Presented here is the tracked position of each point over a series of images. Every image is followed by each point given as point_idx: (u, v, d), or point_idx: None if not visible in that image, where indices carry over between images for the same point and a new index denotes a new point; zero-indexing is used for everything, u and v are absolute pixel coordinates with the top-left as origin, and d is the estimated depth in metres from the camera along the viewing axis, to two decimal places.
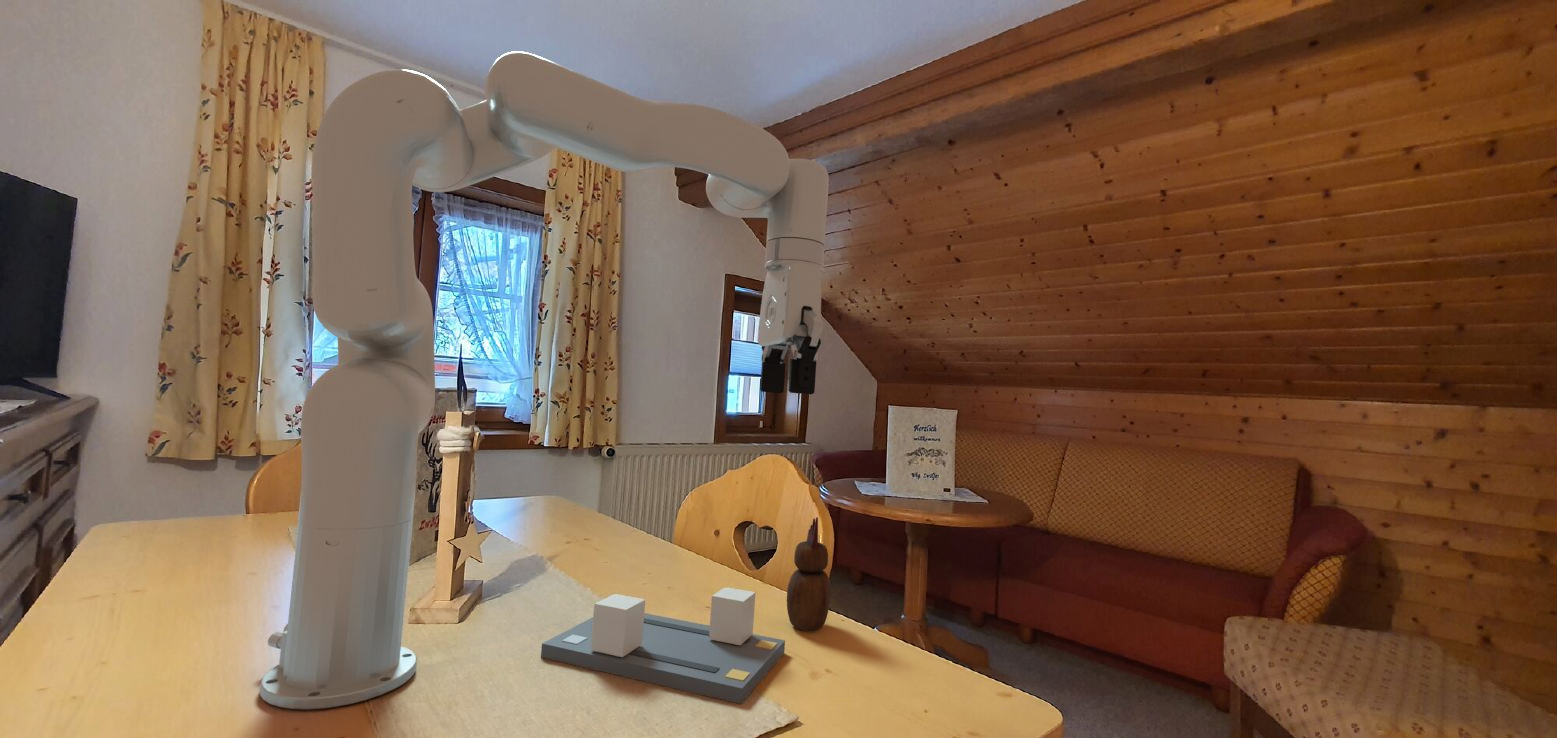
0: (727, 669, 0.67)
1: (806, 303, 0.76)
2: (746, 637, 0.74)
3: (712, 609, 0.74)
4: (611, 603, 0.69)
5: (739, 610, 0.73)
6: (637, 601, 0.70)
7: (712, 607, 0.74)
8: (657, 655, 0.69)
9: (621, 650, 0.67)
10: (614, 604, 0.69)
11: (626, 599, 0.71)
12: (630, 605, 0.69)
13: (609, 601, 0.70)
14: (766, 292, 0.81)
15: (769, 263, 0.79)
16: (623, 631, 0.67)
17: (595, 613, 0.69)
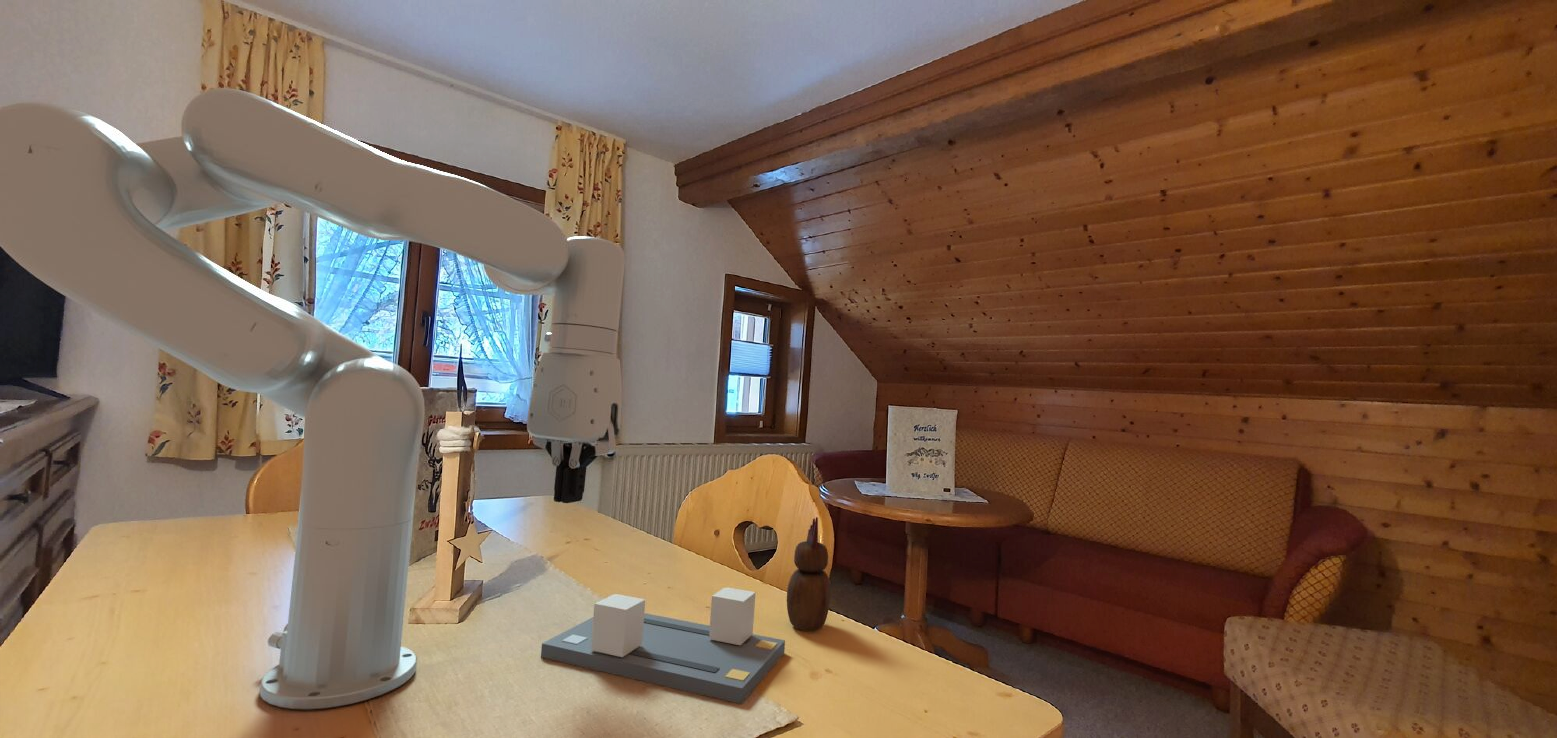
0: (727, 669, 0.67)
1: (614, 401, 0.72)
2: (746, 637, 0.74)
3: (712, 609, 0.74)
4: (611, 603, 0.69)
5: (739, 610, 0.73)
6: (637, 601, 0.70)
7: (712, 607, 0.74)
8: (657, 655, 0.69)
9: (621, 650, 0.67)
10: (614, 604, 0.69)
11: (626, 599, 0.71)
12: (630, 605, 0.69)
13: (609, 601, 0.70)
14: (550, 378, 0.72)
15: (568, 351, 0.70)
16: (623, 631, 0.67)
17: (595, 613, 0.69)
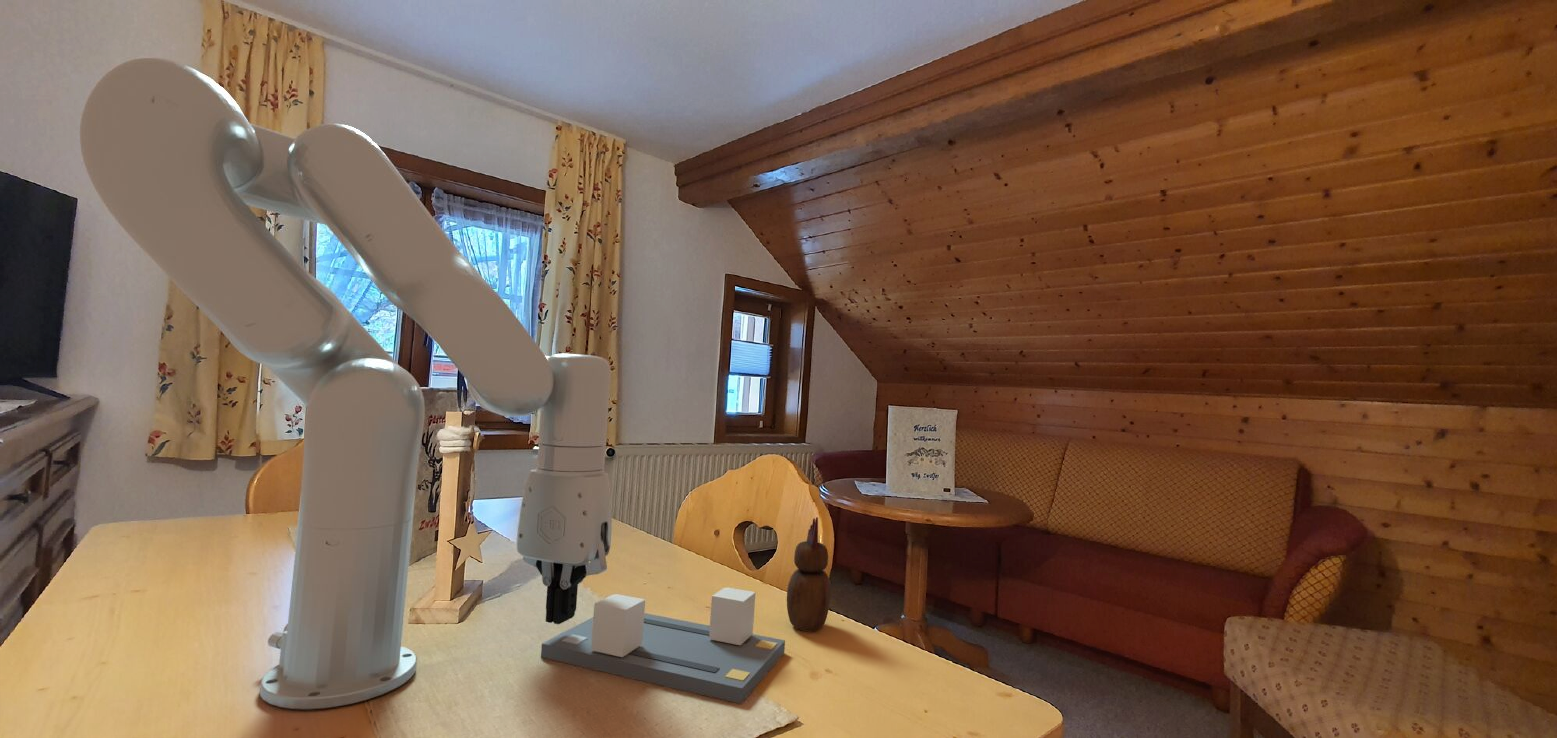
0: (727, 669, 0.67)
1: (603, 520, 0.71)
2: (746, 637, 0.74)
3: (712, 609, 0.74)
4: (611, 603, 0.69)
5: (739, 610, 0.73)
6: (637, 601, 0.70)
7: (712, 607, 0.74)
8: (657, 655, 0.69)
9: (621, 650, 0.67)
10: (614, 604, 0.69)
11: (626, 599, 0.71)
12: (630, 605, 0.69)
13: (609, 601, 0.70)
14: (538, 498, 0.71)
15: (556, 473, 0.70)
16: (623, 631, 0.67)
17: (595, 613, 0.69)
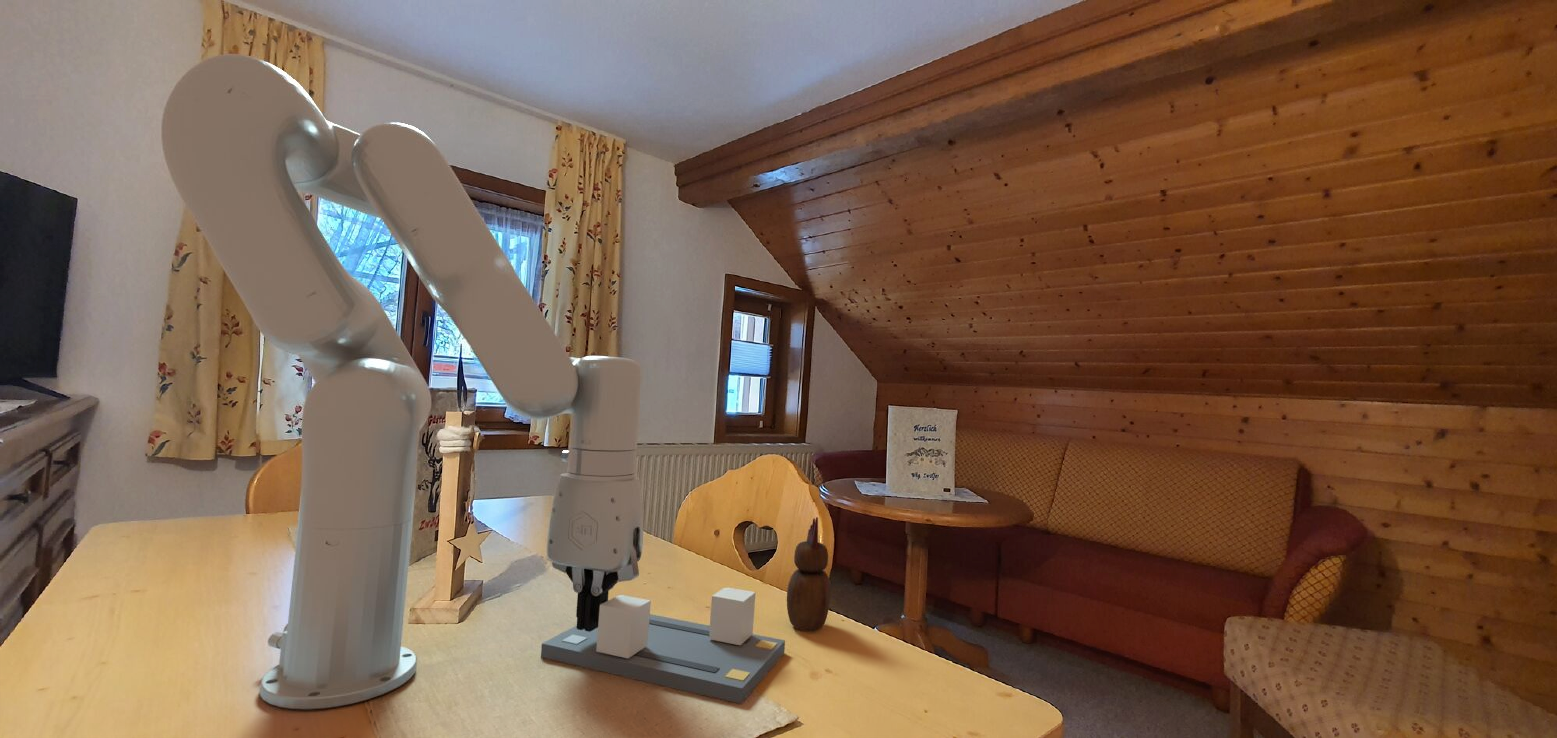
0: (727, 669, 0.67)
1: (636, 525, 0.70)
2: (746, 637, 0.74)
3: (712, 609, 0.74)
4: (617, 604, 0.69)
5: (739, 610, 0.73)
6: (642, 602, 0.70)
7: (712, 607, 0.74)
8: (657, 655, 0.69)
9: (627, 651, 0.67)
10: (620, 605, 0.69)
11: (632, 600, 0.71)
12: (635, 606, 0.69)
13: (614, 602, 0.70)
14: (569, 503, 0.70)
15: (588, 478, 0.68)
16: (629, 632, 0.67)
17: (600, 614, 0.69)
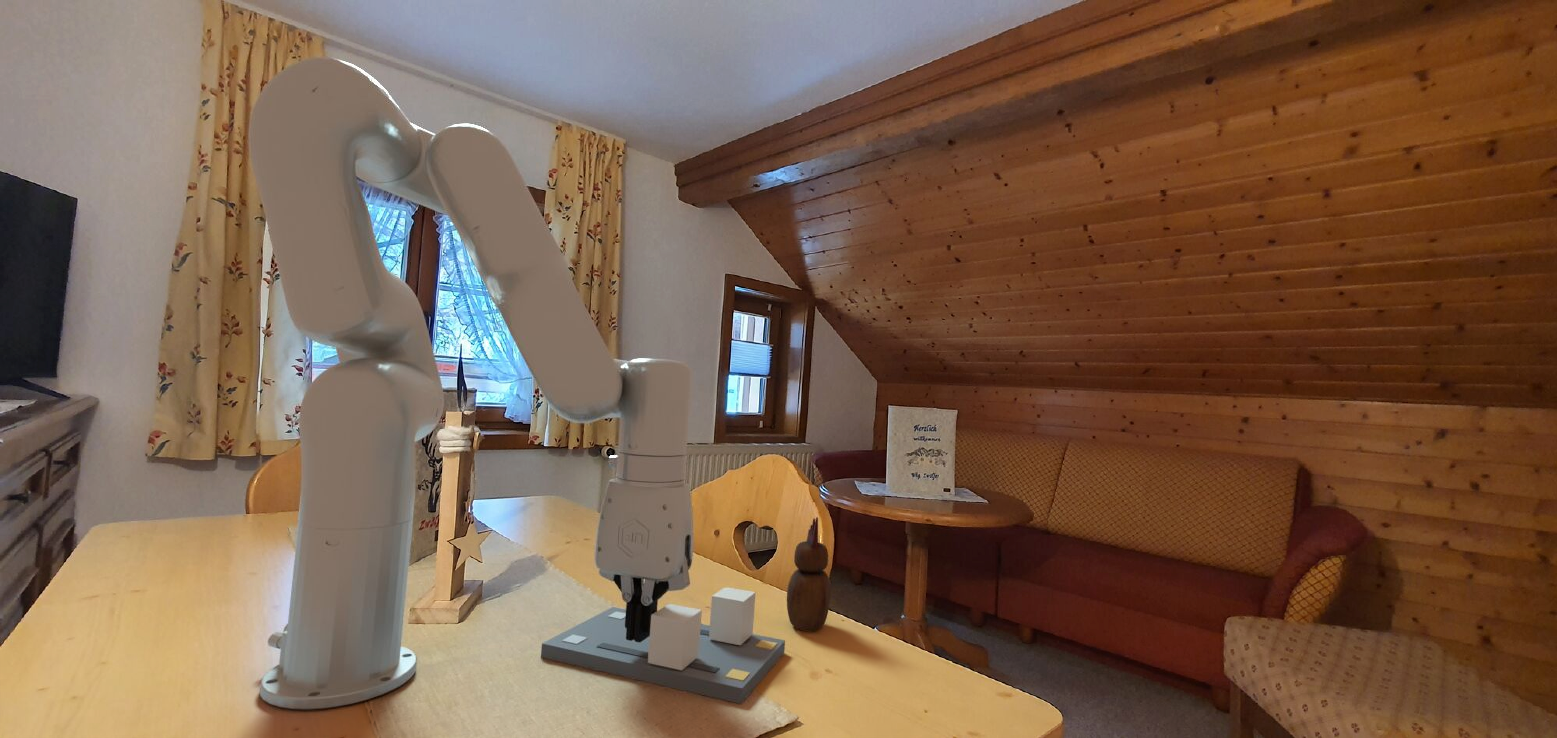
0: (727, 669, 0.67)
1: (687, 532, 0.68)
2: (746, 637, 0.74)
3: (712, 609, 0.74)
4: (669, 614, 0.67)
5: (739, 610, 0.73)
6: (694, 612, 0.68)
7: (712, 607, 0.74)
8: None
9: (680, 663, 0.65)
10: (672, 615, 0.67)
11: (682, 610, 0.69)
12: (688, 616, 0.67)
13: (666, 612, 0.68)
14: (618, 510, 0.68)
15: (639, 484, 0.66)
16: (682, 643, 0.65)
17: (652, 624, 0.66)
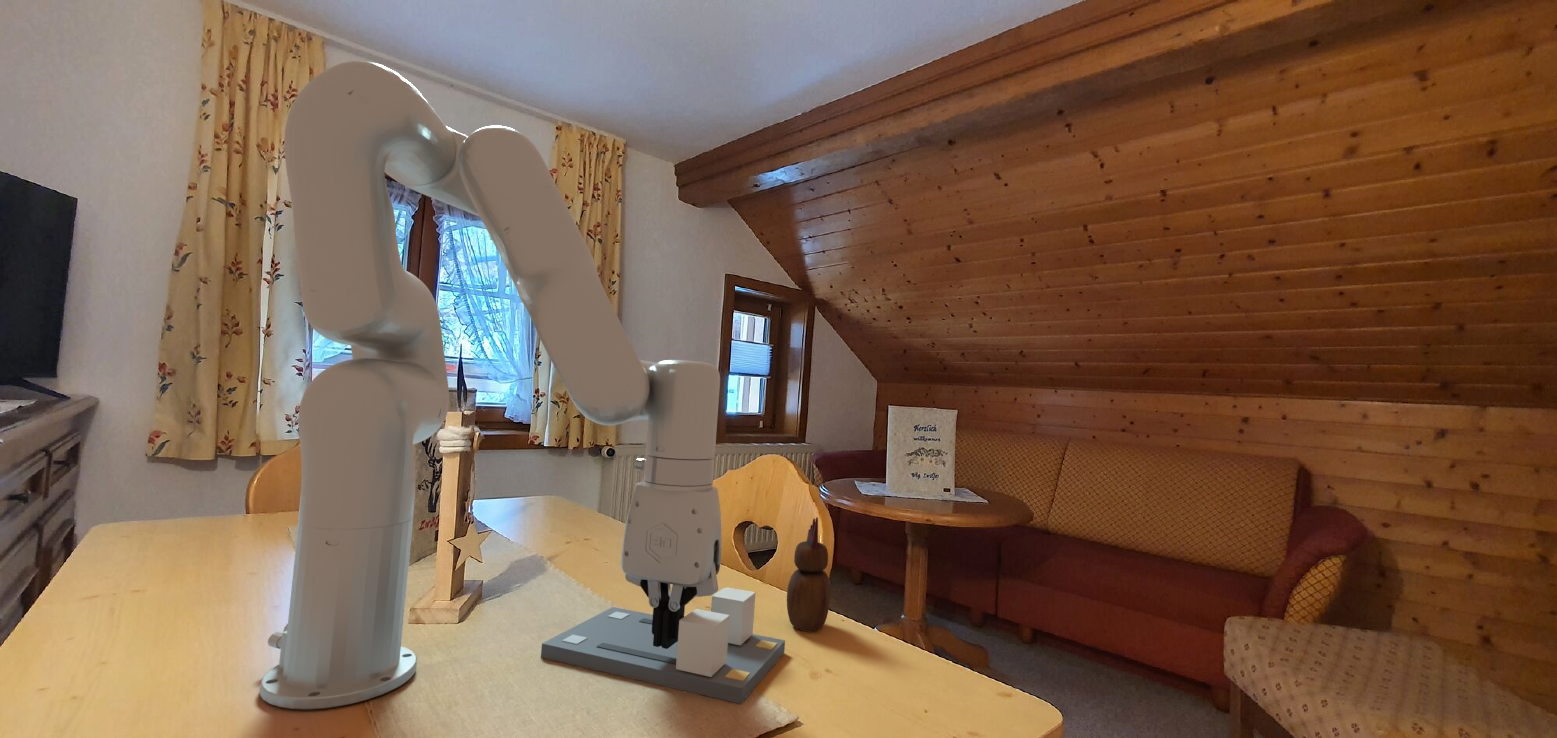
0: (727, 669, 0.67)
1: (716, 537, 0.67)
2: (746, 637, 0.74)
3: (712, 609, 0.74)
4: (697, 619, 0.66)
5: (739, 610, 0.73)
6: (722, 617, 0.67)
7: (712, 607, 0.74)
8: (657, 655, 0.69)
9: (709, 669, 0.64)
10: (700, 620, 0.66)
11: (710, 615, 0.68)
12: (717, 622, 0.66)
13: (693, 617, 0.67)
14: (646, 514, 0.67)
15: (668, 488, 0.65)
16: (711, 649, 0.64)
17: (680, 630, 0.65)
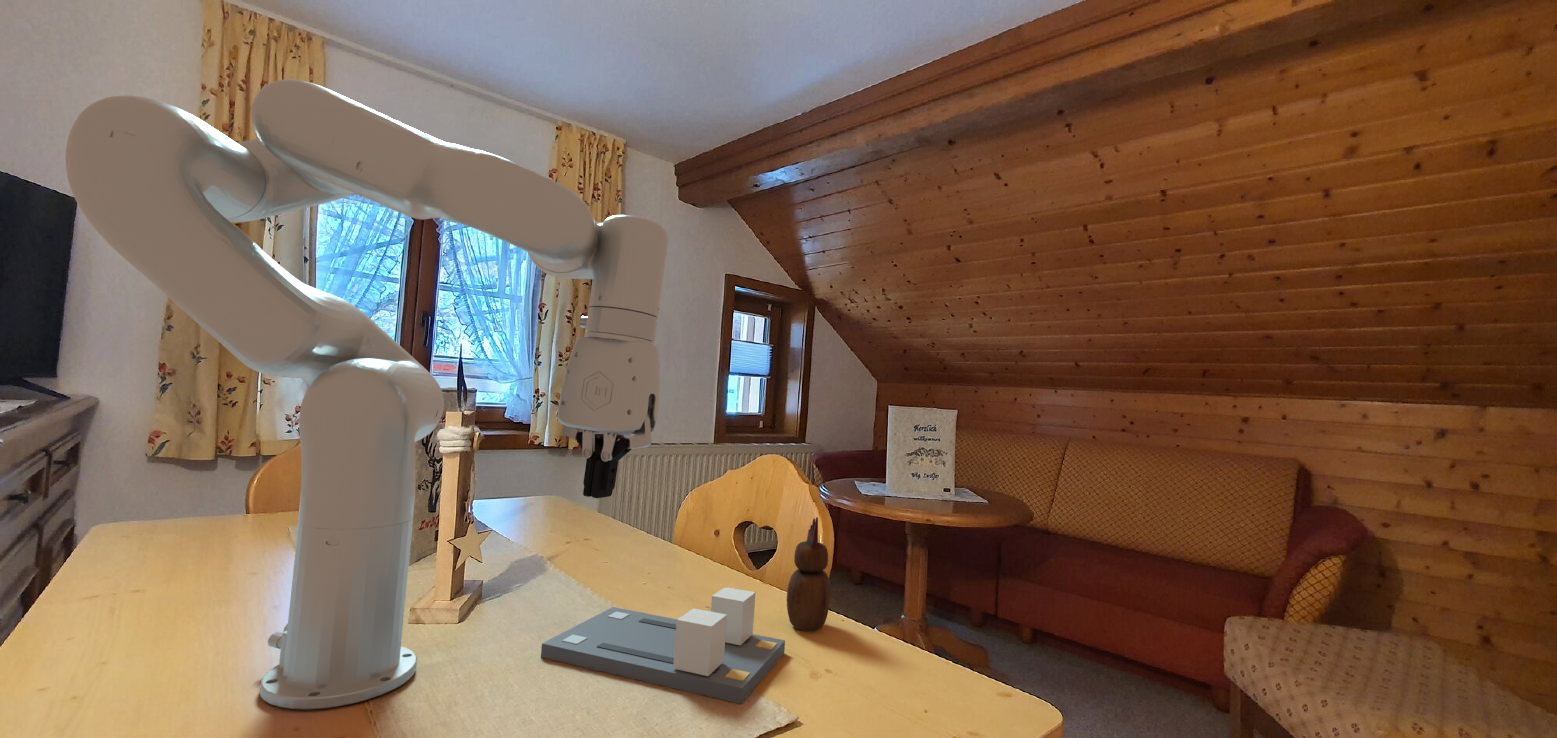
0: (727, 669, 0.67)
1: (652, 391, 0.67)
2: (746, 637, 0.74)
3: (712, 609, 0.74)
4: (694, 618, 0.66)
5: (739, 610, 0.73)
6: (719, 616, 0.67)
7: (712, 607, 0.74)
8: (657, 655, 0.69)
9: (706, 669, 0.64)
10: (697, 620, 0.66)
11: (707, 614, 0.68)
12: (714, 621, 0.66)
13: (691, 617, 0.67)
14: (584, 363, 0.67)
15: (606, 335, 0.66)
16: (709, 649, 0.64)
17: (677, 629, 0.66)
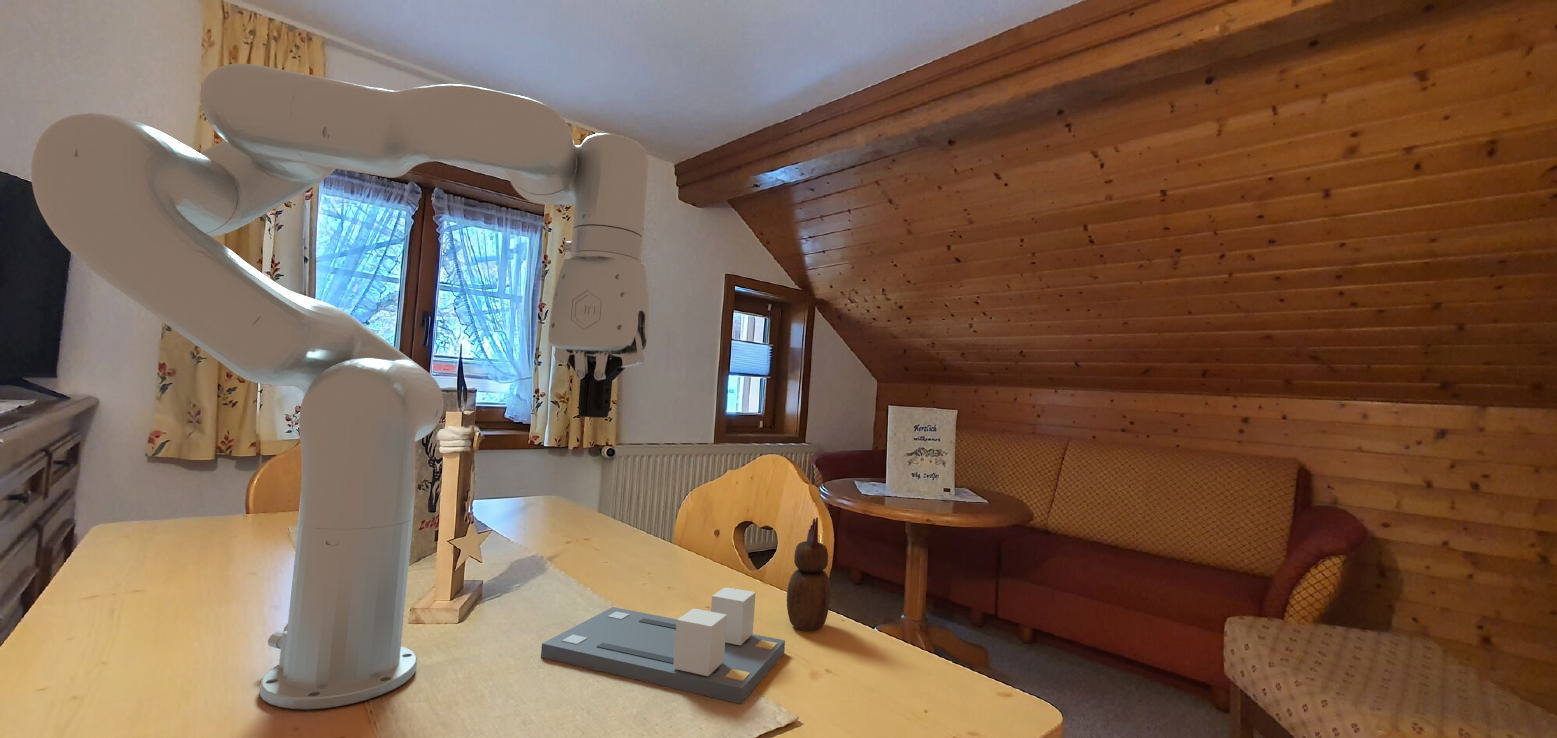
0: (727, 669, 0.67)
1: (641, 308, 0.68)
2: (746, 637, 0.74)
3: (712, 609, 0.74)
4: (694, 618, 0.66)
5: (739, 610, 0.73)
6: (719, 616, 0.67)
7: (712, 607, 0.74)
8: (657, 655, 0.69)
9: (706, 669, 0.64)
10: (697, 620, 0.66)
11: (707, 614, 0.68)
12: (714, 621, 0.66)
13: (691, 617, 0.67)
14: (572, 284, 0.67)
15: (592, 253, 0.66)
16: (709, 649, 0.64)
17: (677, 629, 0.66)
